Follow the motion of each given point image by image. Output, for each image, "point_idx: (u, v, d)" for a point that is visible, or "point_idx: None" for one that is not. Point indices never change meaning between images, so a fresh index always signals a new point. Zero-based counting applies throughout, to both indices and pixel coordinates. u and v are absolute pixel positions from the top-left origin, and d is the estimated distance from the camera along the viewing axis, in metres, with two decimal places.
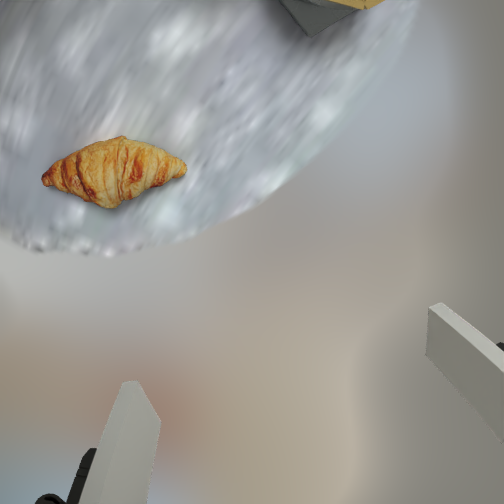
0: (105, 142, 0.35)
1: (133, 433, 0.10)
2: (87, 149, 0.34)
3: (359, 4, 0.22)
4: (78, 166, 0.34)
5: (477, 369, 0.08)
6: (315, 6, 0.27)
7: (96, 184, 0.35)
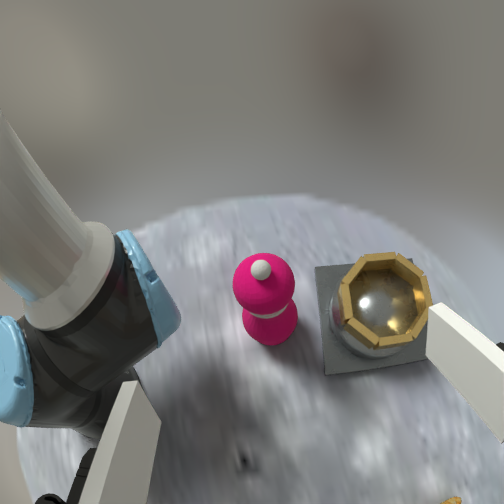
0: None
1: (133, 433, 0.10)
2: None
3: (427, 312, 0.34)
4: None
5: (477, 369, 0.08)
6: None
7: None
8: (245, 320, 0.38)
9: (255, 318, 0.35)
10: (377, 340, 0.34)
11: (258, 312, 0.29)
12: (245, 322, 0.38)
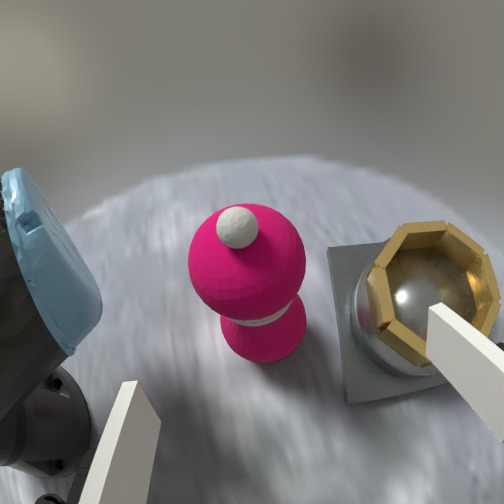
0: None
1: (133, 433, 0.10)
2: None
3: (495, 306, 0.20)
4: None
5: (477, 369, 0.08)
6: None
7: None
8: (224, 328, 0.24)
9: (238, 325, 0.21)
10: None
11: (236, 316, 0.15)
12: (224, 330, 0.24)
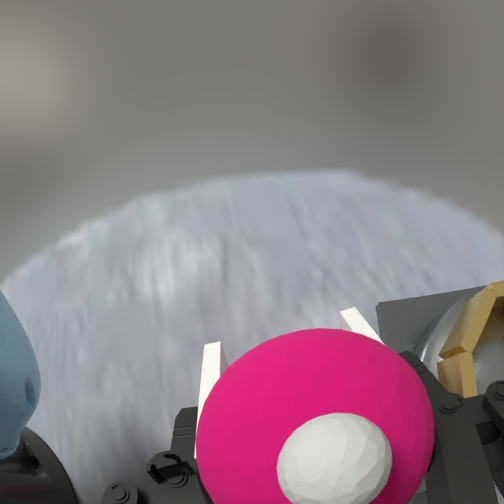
0: None
1: None
2: None
3: None
4: None
5: None
6: None
7: None
8: None
9: None
10: None
11: None
12: None
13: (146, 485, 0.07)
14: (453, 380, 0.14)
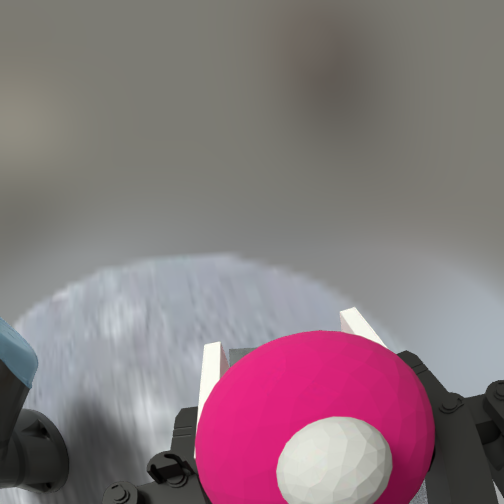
0: None
1: None
2: None
3: None
4: None
5: None
6: None
7: None
8: None
9: None
10: None
11: None
12: None
13: (146, 485, 0.07)
14: None
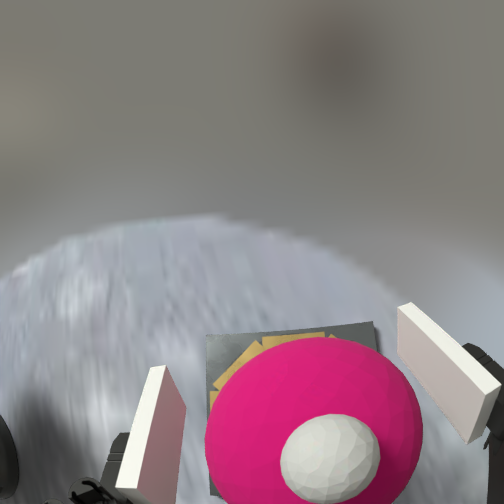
0: None
1: (164, 416, 0.11)
2: None
3: None
4: None
5: (441, 369, 0.09)
6: None
7: None
8: None
9: None
10: None
11: None
12: None
13: None
14: None
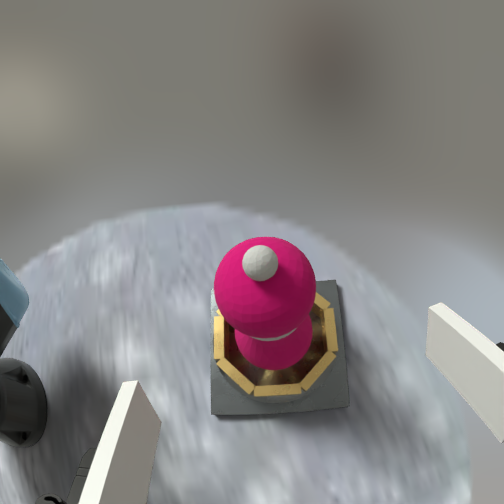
0: None
1: (133, 433, 0.10)
2: None
3: (328, 357, 0.28)
4: None
5: (477, 369, 0.08)
6: (320, 385, 0.33)
7: None
8: (239, 339, 0.26)
9: (253, 338, 0.23)
10: (252, 389, 0.28)
11: (256, 335, 0.17)
12: (238, 341, 0.27)
13: None
14: None
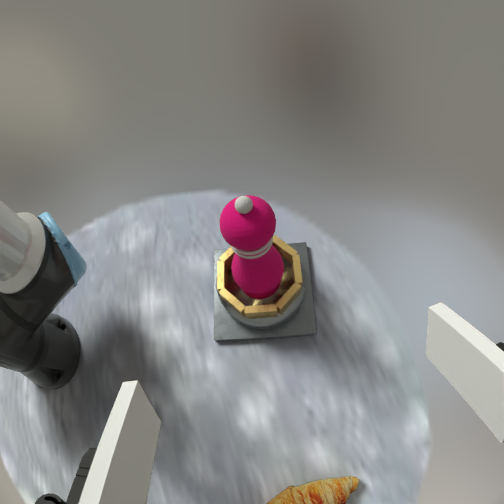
0: (278, 495, 0.35)
1: (133, 433, 0.10)
2: None
3: (295, 286, 0.43)
4: None
5: (477, 369, 0.08)
6: (294, 316, 0.48)
7: None
8: (234, 269, 0.41)
9: (242, 264, 0.39)
10: (243, 308, 0.43)
11: (242, 246, 0.32)
12: (234, 271, 0.42)
13: None
14: None
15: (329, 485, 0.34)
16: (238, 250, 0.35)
